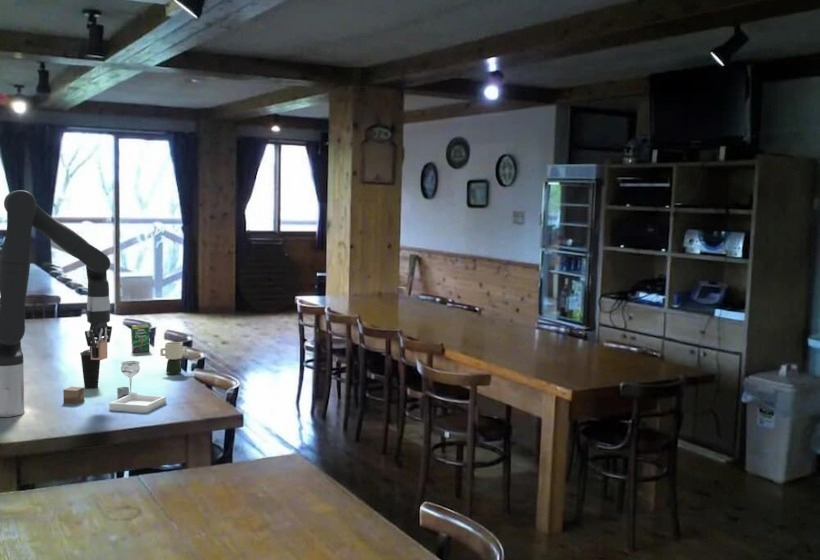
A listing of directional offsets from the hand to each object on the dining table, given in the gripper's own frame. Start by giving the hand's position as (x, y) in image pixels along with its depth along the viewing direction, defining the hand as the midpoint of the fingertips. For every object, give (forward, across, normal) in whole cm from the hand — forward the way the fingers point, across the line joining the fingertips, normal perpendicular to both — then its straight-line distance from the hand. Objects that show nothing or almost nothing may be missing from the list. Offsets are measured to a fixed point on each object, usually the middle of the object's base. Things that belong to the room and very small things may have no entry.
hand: (99, 356), depth 283 cm
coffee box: (+17, -94, -36) cm, 103 cm away
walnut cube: (+17, 0, -10) cm, 20 cm away
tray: (+17, 0, +15) cm, 23 cm away
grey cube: (+17, -9, +4) cm, 20 cm away
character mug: (+17, -54, +1) cm, 57 cm away
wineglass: (+17, -16, +3) cm, 24 cm away
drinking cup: (+17, -22, -17) cm, 33 cm away
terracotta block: (+1, 0, 0) cm, 1 cm away
